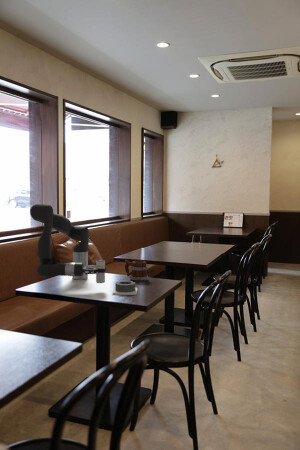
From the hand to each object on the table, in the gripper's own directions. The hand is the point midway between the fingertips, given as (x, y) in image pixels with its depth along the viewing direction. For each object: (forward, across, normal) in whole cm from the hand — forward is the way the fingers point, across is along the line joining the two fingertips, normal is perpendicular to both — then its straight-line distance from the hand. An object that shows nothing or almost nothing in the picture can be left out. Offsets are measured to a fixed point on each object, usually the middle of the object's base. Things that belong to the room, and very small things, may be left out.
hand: (105, 269), depth 229 cm
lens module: (-3, 0, +7) cm, 7 cm away
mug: (+16, +30, +13) cm, 37 cm away
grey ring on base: (+11, -1, +12) cm, 17 cm away
